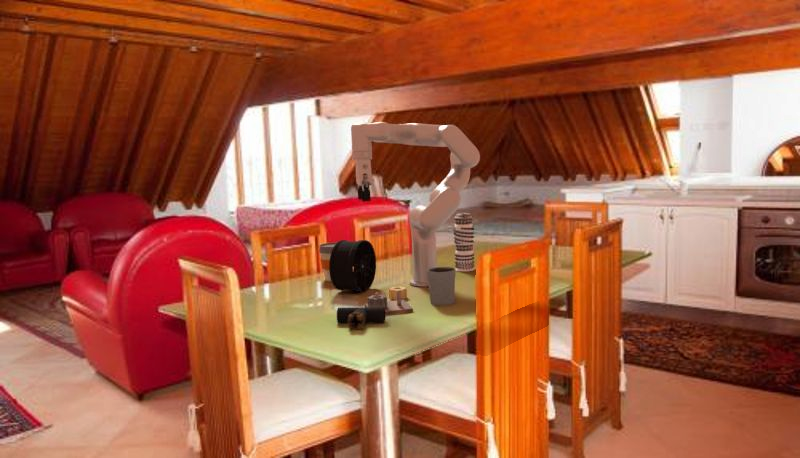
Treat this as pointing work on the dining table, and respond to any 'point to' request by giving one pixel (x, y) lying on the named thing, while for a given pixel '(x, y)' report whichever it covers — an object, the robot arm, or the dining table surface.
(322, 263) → the reusable coffee cup
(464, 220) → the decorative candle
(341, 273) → the car wheel rim
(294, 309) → the dining table surface
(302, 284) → the dining table surface
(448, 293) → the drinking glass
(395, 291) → the ochre gear
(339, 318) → the pipe connector
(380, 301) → the board
